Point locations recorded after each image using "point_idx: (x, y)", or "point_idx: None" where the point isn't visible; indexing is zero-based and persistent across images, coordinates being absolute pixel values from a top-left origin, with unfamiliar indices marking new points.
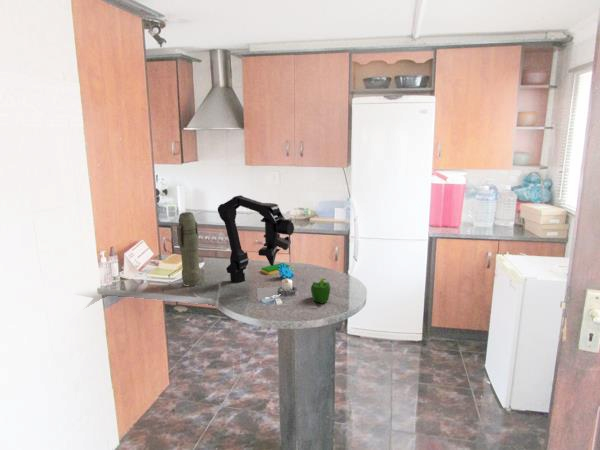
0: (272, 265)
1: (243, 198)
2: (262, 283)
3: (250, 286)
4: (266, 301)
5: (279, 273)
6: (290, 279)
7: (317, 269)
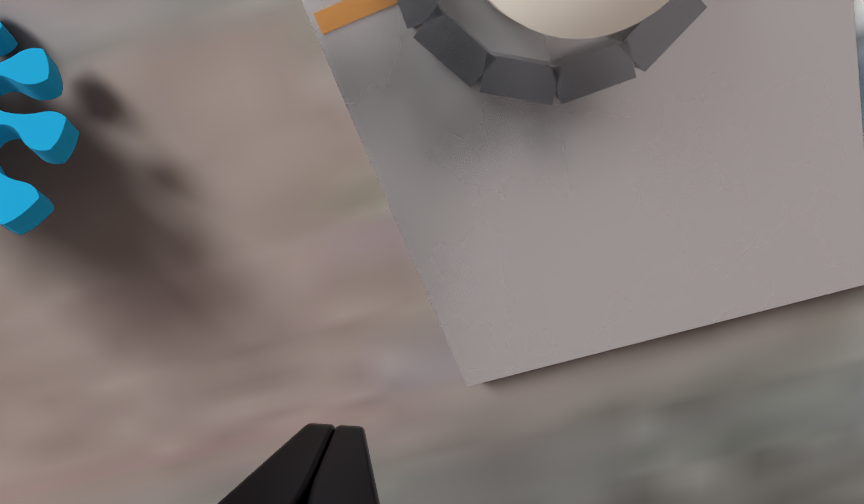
0: (365, 435)
1: None
2: (232, 365)
3: None
4: None
5: (26, 228)
6: None
7: None
